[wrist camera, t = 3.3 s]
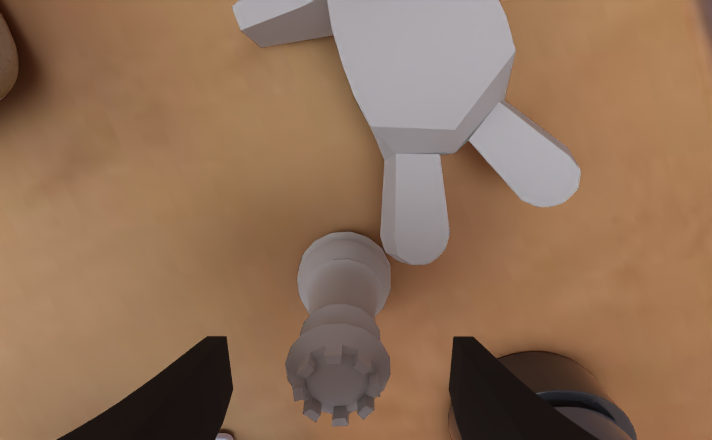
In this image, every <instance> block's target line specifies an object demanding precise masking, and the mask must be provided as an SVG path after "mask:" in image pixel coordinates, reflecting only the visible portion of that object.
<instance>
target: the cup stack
mask: <svg viewBox="0 0 712 440" xmlns="http://www.w3.org/2000/svg"><path fill="white" fill-rule="evenodd" d="M497 360H498V361H499V362H501V363H502V364H503V365H504V366H505V367H506V368H507V369H508V370H509V371H510V372H511V373H513V374H514V375H515V376H516V377H517V378H518V379H519V380H520V381H522V382H523V383H524V384H525V385H526V386H527V387H529V388H530V389H531V390H532V391H533V392H535V393H536V394H537V395H538V396H540V397H541V398H542V399H543V400H545V401H546V402H547V403H548V404H550V405H551V406H552V407H554V408H555V409H556V410H558V411H559V412H560V413H562V414H563V415H564V416H566V417H567V418H569V419H570V420H571V421H573V422H574V423H576V424H577V425H579V426H580V427H581V428H583V429H584V430H586V431H587V432H589V433H590V434H592V435H593V436H595V437H596V438H598V439H600V440H637V437H636V433H635V430H634V427H633V425H632V423H631V421H630V420H629V418H628V417H627V415H626V414H625V413H624V412H623V411H622V410H621V408H620V407H619V406H618V405H617V404H616V403H615V401H614V400H613V399H612V398H611V397H610V396H609V395H608V393H607V392H606V391H605V390H604V389H603V388H602V386H601V385H600V384H599V383H598V382H597V381H596V379H595V378H594V377H593V376H592V375H591V374H590V372H589V371H587V370H586V369H585V368H584V367H583V366H581V365H580V364H578V363H577V362H575V361H573V360H571V359H569V358H567V357H564V356H561V355H557V354H553V353H547V352H523V353H517V354H512V355H508V356H505V357H502V358H499V359H497ZM448 427H449V432H450V436H451V439H452V440H462V438H461V435H460V432H459V429H458V426H457V423H456V419H455V415H454V411H453V407H452V403H451V406H450V409H449V415H448Z"/></svg>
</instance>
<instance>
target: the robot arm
mask: <svg viewBox="0 0 712 440" xmlns="http://www.w3.org/2000/svg"><path fill="white" fill-rule="evenodd" d="M232 391H233V384H232V376H231V368H230V361H229V353H228V345H227V337H226V336H207V337H206V338H204V339H203V340H202V341H200V342H199V343H198V344H196V345H195V346H194V347H192V348H191V349H190V350H189V351H187V352H186V353H185V354H184V355H182V356H181V357H180V358H178V359H177V360H176V361H175V362H173V363H172V364H171V365H169V366H168V367H167V368H166V369H164V370H163V371H162V372H160V373H159V374H158V375H156V376H155V377H154V378H152V379H151V380H150V381H148V382H147V383H145V384H144V385H143V386H141V387H140V388H138V389H137V390H136V391H134V392H133V393H131V394H130V395H129V396H127V397H126V398H124V399H123V400H122V401H120V402H119V403H117V404H116V405H114V406H112V407H111V408H109V409H108V410H106V411H105V412H103V413H102V414H100V415H98V416H97V417H95V418H93V419H92V420H90V421H88V422H87V423H85V424H84V425H82V426H80V427H78V428H77V429H75V430H73V431H72V432H70V433H68V434H66V435H64V436H62V437H60V438H59V439H57V440H234V439H233V437H232V436H231V435H229V434H227V433H218V432H219V430H220V428H221V426H222V423H223V421H224V418H225V415H226V411H227V408H228V405H229V402H230V398H231V395H232ZM449 393H450V397H451V402H452V407H453V411H454V415H455V419H456V423H457V426H458V429H459V432H460V435H461V438H462V440H600V439H598V438H596V437H595V436H593V435H592V434H590V433H589V432H587V431H586V430H584V429H583V428H581V427H580V426H579V425H577V424H576V423H574V422H573V421H571V420H570V419H569V418H567V417H566V416H564V415H563V414H562V413H560V412H559V411H558V410H556V409H555V408H554V407H552V406H551V405H550V404H548V403H547V402H546V401H545V400H543V399H542V398H541V397H540V396H538V395H537V394H536V393H535V392H533V391H532V390H531V389H530V388H529V387H527V386H526V385H525V384H524V383H523V382H522V381H520V380H519V379H518V378H517V377H516V376H515V375H514V374H513V373H511V372H510V371H509V370H508V369H507V368H506V367H505V366H504V365H503V364H502V363H501V362H499V361H498V360H497V359H496V358H495V357H494V356H493V355H492V354H491V353H490V352H489V351H488V350H487V349H486V348H485V347H484V346H483V345H482V344H481V343H479V342H478V341H477V340H476V339H475V338H474V337H454V338H453V349H452V360H451V371H450V382H449Z"/></svg>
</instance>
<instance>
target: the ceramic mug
mask: <svg viewBox="0 0 712 440" xmlns="http://www.w3.org/2000/svg"><path fill="white" fill-rule="evenodd" d="M18 68H19V66H18V54H17V49H16V45H15V42H14V40H13V38H12V35H11V33H10V31H9V28H8V26H7V24H6V22H5V20H4V18H3V16H2V15H1V13H0V100H1V99H2V98H4V97H5V96H6V95H7V94H8V92H9V91H10V90H11V89H12V87H13V85H14V83H15V82H16V80H17V76H18Z"/></svg>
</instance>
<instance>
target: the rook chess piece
mask: <svg viewBox="0 0 712 440" xmlns="http://www.w3.org/2000/svg"><path fill="white" fill-rule="evenodd" d="M298 271H299V273H298V276H297V283H298V290H299V296H300V299H301V301H302V303H303V304H304V306H305V307H306V309H307V311H308V312H309V317H308V318H307V319H306V320H305V321H304V324H303V327H302V330H301V333H300V337H299V338H298V339H297V341H296V342H295V343H294V344H293V345H292V346H291V347H290V350H289V353H288V356H287V360H286V363H285V364H286V371H287V378H288V381H289V383H290V384H291V385H292V388H293V395H294V401H298V400H304V401H305V403H304V409H303V414H304V415H306V416H307V417H309V418H310V419H312V420H313V421H315V422H316V421H317V420H318V418H319V417H320V415H321V411H323V412H327V413H331V414H333V417H332V426H348V420H349V413H351V412H353V411H356V410H357V414H358V415H359V416H360V417H361V418H362V419H363V420H364V419H365V418H366V417H367V416H368V415H369V414H370V413H371V412H373V411H374V410H375V409H374V398H376V397H377V396H378V397H380V393H381V392H382V391H383V390H384V388H385V386H386V383H387V381H388V379H389V377H390V357H389V355H388V353H387V352H386V350H385V348H384V346H383V344H382V343H381V341H380V330H379V328H378V326H377V325H376V323H375V321H374V319H375V316H376V315H377V314H378V313H379V312H380V311H381V310H382V309H383V307H384V305H385V303H386V300H387V298H388V295H389V293H390V290H391V274H390V263H389V261H388V259H387V257H386V255H385V253H384V251H383V249H382V248H381V247H379V246H378V245H377V244H376V243H375V242H373V241H372V240H371V239H370V238H369V237H366V236H363V235H360V234H356V233H353V232H337V233H330V234H328V235H326V236H324V237H322V238H320V239H318V240H315V241H314V242H313V244H312V245H311V246H310V247H309V248H308V249H307V250H306V251H305V252H304V254H303V256H302V260H301V263H300V266H299V269H298Z"/></svg>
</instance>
